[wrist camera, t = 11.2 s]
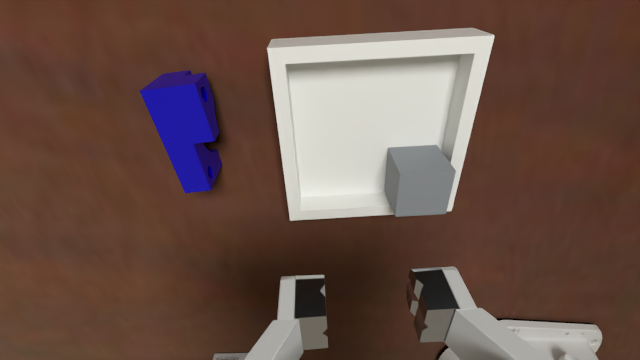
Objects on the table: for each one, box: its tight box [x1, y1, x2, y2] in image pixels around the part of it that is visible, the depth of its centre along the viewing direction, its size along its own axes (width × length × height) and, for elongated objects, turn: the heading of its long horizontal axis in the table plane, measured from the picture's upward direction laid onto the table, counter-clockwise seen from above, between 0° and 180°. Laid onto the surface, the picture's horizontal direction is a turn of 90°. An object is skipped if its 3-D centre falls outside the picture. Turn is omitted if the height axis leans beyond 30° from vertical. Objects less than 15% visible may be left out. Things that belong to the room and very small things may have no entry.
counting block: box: [385, 145, 456, 217], centre depth 25 cm, size 4×4×4 cm
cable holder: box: [140, 70, 222, 193], centre depth 23 cm, size 8×4×4 cm, turn 7°
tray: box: [267, 28, 495, 221], centre depth 24 cm, size 14×14×3 cm
